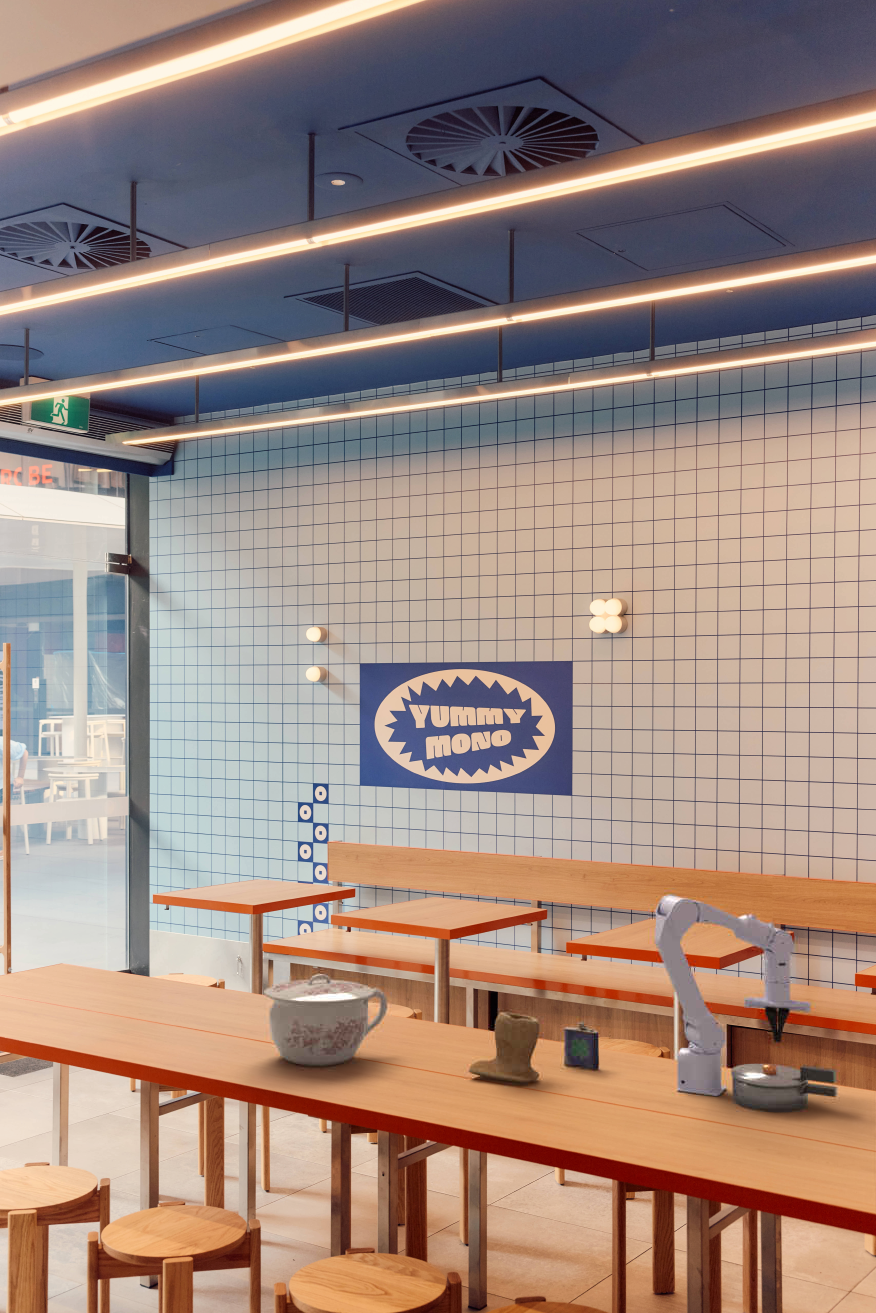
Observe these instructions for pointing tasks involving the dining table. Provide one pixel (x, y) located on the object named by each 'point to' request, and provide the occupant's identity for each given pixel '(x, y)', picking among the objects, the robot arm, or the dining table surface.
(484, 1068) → the brown boot
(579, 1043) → the flask
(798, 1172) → the dining table surface
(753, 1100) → the cooker pot
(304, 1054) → the chamber pot
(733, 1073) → the cooker lid
